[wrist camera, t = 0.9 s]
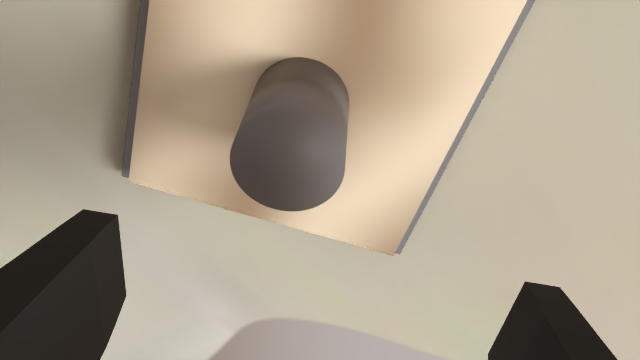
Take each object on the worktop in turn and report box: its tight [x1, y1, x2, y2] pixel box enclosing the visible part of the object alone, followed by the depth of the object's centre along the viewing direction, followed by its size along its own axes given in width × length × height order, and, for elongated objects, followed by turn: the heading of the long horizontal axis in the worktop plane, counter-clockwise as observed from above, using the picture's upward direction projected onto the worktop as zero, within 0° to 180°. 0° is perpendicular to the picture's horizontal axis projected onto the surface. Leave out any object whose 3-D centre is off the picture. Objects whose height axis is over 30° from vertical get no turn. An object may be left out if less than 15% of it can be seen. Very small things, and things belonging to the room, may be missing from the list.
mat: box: [122, 0, 535, 254], centre depth 18 cm, size 11×11×1 cm
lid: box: [129, 0, 527, 256], centre depth 16 cm, size 10×10×4 cm
